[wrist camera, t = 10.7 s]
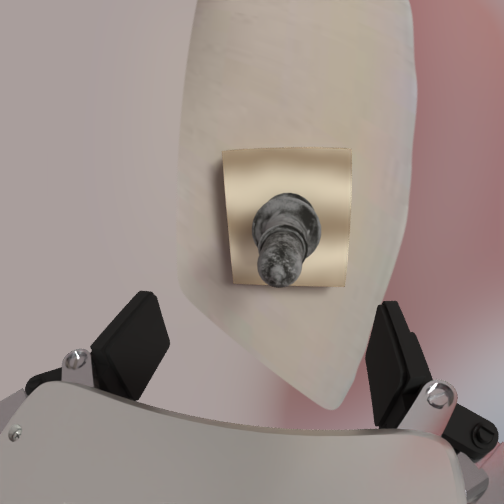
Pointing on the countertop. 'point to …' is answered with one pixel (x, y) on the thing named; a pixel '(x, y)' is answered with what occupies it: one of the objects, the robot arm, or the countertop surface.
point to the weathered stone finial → (284, 238)
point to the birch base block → (298, 182)
